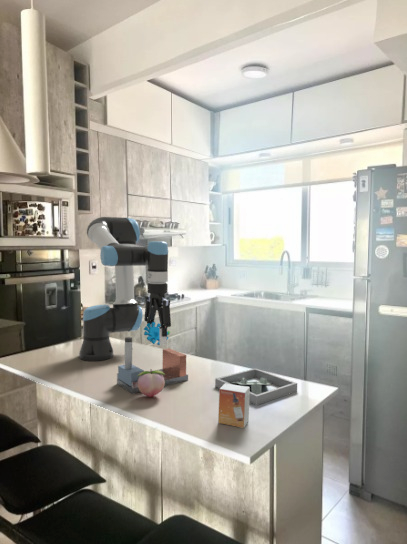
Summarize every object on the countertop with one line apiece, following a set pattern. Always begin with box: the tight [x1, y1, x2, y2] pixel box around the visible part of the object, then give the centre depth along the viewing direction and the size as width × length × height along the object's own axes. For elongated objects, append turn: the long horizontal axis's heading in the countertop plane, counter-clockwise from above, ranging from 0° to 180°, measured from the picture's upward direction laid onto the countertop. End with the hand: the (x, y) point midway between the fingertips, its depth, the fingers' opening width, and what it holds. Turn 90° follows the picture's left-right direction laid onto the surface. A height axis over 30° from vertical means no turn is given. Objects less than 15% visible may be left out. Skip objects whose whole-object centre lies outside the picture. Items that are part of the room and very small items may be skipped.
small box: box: [217, 383, 251, 429], centre depth 116 cm, size 8×6×10 cm
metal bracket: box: [231, 378, 273, 395], centre depth 145 cm, size 14×6×15 cm
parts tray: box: [214, 368, 298, 406], centre depth 144 cm, size 21×21×3 cm
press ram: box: [117, 336, 145, 387], centre depth 143 cm, size 10×5×16 cm, turn 39°
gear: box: [143, 321, 171, 346], centre depth 150 cm, size 11×6×10 cm
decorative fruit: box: [137, 369, 165, 398], centre depth 135 cm, size 9×8×10 cm
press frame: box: [116, 347, 189, 395], centre depth 149 cm, size 12×24×10 cm, turn 129°
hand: (157, 342), depth 149 cm, fingers closed on gear, 8 cm apart
